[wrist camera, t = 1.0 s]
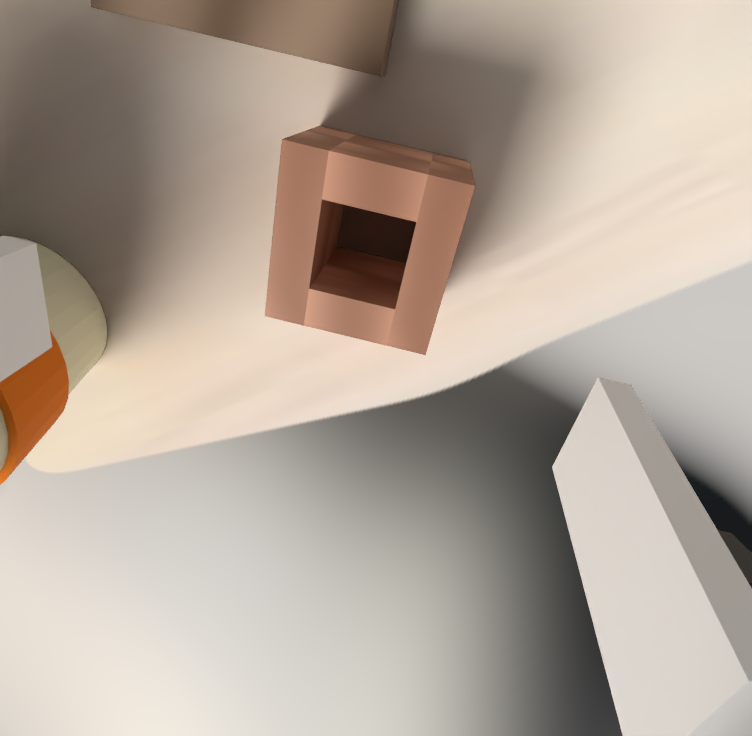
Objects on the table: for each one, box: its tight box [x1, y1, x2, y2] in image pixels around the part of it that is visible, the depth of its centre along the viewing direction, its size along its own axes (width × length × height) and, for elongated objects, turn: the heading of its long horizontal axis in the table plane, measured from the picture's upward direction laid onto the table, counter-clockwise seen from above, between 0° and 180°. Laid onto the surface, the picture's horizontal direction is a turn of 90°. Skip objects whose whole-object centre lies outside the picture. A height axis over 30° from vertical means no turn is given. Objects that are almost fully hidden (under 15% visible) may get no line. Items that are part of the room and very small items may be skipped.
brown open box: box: [265, 126, 475, 355], centre depth 22 cm, size 7×7×6 cm
